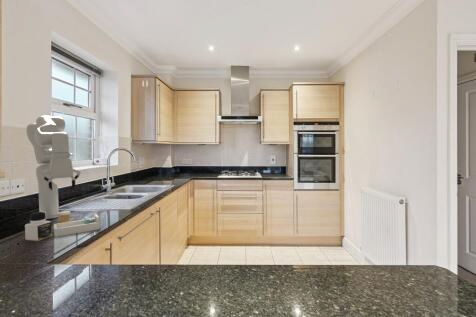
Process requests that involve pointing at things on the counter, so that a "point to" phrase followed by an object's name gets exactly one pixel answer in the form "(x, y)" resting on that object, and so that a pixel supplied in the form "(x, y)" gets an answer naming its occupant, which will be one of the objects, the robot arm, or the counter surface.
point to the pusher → (88, 220)
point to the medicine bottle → (38, 227)
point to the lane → (76, 226)
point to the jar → (64, 216)
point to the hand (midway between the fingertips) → (62, 188)
